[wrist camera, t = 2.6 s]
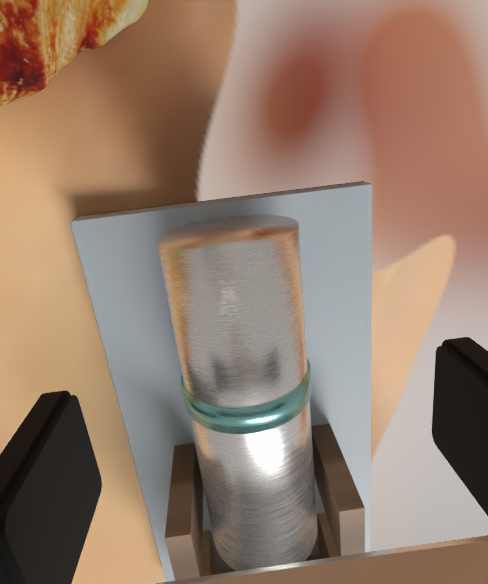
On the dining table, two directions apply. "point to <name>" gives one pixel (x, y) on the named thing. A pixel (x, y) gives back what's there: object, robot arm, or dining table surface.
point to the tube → (246, 381)
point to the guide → (330, 481)
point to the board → (162, 345)
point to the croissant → (54, 37)
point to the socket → (326, 551)
